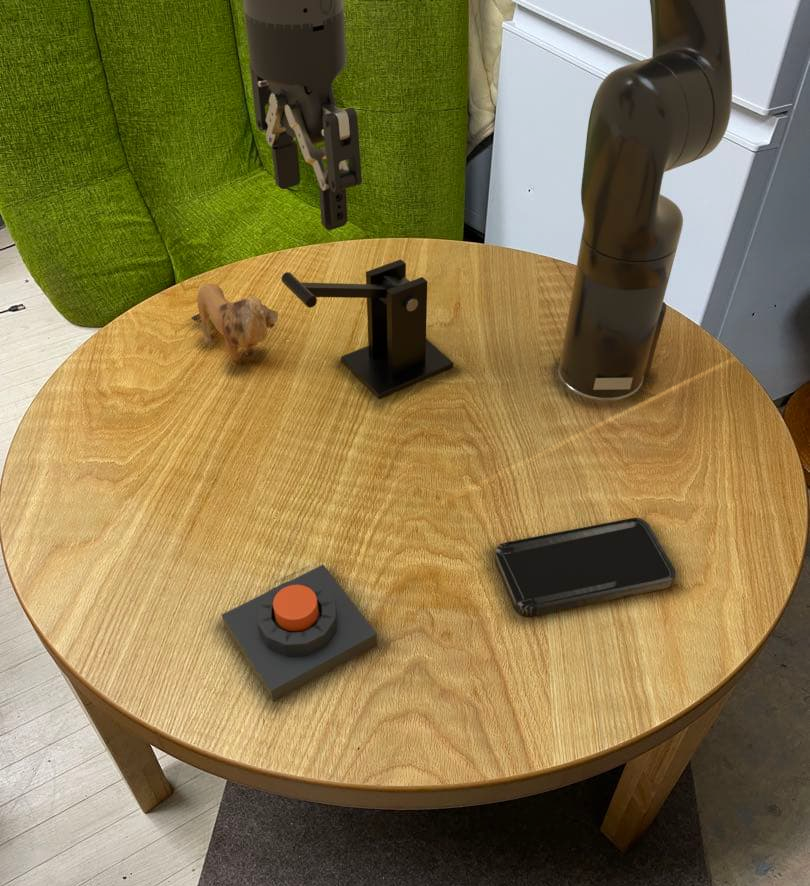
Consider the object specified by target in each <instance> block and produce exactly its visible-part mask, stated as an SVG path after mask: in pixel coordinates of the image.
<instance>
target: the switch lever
mask: <svg viewBox="0 0 810 886" xmlns="http://www.w3.org/2000/svg"><path fill="white" fill-rule="evenodd" d="M280 278H281V282H282V284H283V285H285V287H286V288H287V289H289V290H290V291H291V292H292V293H293V294H294V295H295V296H296V297H297V298H298V299H299V300H300V302H302V303H303V305H305V307H307V308H309V309H311V308H314V307H315V306H316V305H317V304H318V303H317V302H318V299H317V298H342V299H343V298H347V299H348V298H349V299H350V298H351V299H352V298H353V299H356V298H357V299H367V298H379V299H380V300H381V301H382V302H384V303H385V304H386V305H387V290H388V289H391V288H394V287H397V286H399V285H402V284H405V283H407V282H410V281H411V280H409V279H408V278H407V276H406V277H404V276H383V280H382V283H381V285H379V284H366V283H341V282H339V283H335V282H301V281H299V279H298V278H297V277H295V275H294V274H292V273H291V272H290V271H289V272H288V271H286V272H284V273H282V275H281V277H280Z"/></svg>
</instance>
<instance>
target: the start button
mask: <svg viewBox="0 0 810 886" xmlns="http://www.w3.org/2000/svg"><path fill="white" fill-rule="evenodd" d="M273 608H274V613H275V618H276V621H277V623H278V624H279V625H280V626H281V627H282V628H283V629H285V630H288V631H293V632H297V631H303V630H306V629H308V628H309V627H311V626H312V625H313V624H314V623H315V622H316V620H317V618H318V614H319V611H318V603H317V597H316V594H315V593H314V592H313V591H312V590H311V589H310V588H308V587H306V586H303V585H290V586H287V587H285V588H283V589H281V590H280V591H279V592H278V593H277V594H276V596H275V598H274V600H273Z"/></svg>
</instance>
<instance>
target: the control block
mask: <svg viewBox="0 0 810 886" xmlns="http://www.w3.org/2000/svg"><path fill="white" fill-rule="evenodd" d="M336 580H337V579H336V578H334V577H333V575H332V574H331V573H330V571H329V570H328V569H327V568H326V566H325V565H324V564H321V565H319V566H317V567H315V568H313V569H311V570H309V571H307V572H305V573H303V574H301V575H299V576H297V577H295V578H293V579H290V580H288V581H285V582H283V583H281V584H279V585H277V586H275V587H273V588H271V589H269V590H268V591H266V592H264V593H263V594H260V595H258V596H256V597H254V598H252V599H251V600H248V601H247V602H244V603H242V604H241V605H238V606H236V607H234V608H232V609H230V610H228V611H225V612H224V613H222V614H221V618H222V622H223V625H224V628H225V629H226V631H227V633H229V635H230V637H231V638H232V640H233V642H234V644H235V645H236V646H237V648H238V650H239V651H240V653H241V654H242V655H243V657H244V658H245V660H246V662H247V664H248V665H249V667H250V668H251V670H252V671H253V672H254V674H255V676H256V678H257V679H258V680H259V683H261V686H262V687H263V688H264V690H265V691H266V693H267V695H268V696H269V697H270V699H271V700H272V702H273V703H274V702H276V701H278V700H279V699H281V698H283V697H285V696H286V695H287V696H288V694H290V693H292V692H294V691H296V690H298V689H299V688H302V687H303V686H305V685H306V684H309V683H311V682H313V681H314V680H316V679H318V678H320V677H321V676H324V675H325V674H327V673H329V672H331V671H333V670H334V669H336V668H338V667H339V666H342V665H344V664H345V663H348V661H351V660H353V659H354V658H356V657H359V656H360V655H362V654H364V653H366V652H367V651H369V650H370V649H372V648H374V647H377V646H378V633H377V632H376V631H375V630H374V628H373V627H372V625H371V624H370V623H369V621H368V620H367V619H366V617H364V615H363V614H362V613H361V612H360V610H359V608H358V607H357V606H356V605H355V604H354V602H353V601H352V600H351V598H350V597H349V596H348V594H346V592H345V591H344V589H343V588H342V587H341V585H340V584H339V583H338V581H336ZM290 585H303V586H306V587H308V588H310V589H311V590H312V591H313V592H314V593H315V594H316V597H317V603H318V611H319V614H318V618H317V620H316V622H315V623H314V624H313V625H312V626H311V627H309V628H308V629H306V630H303V631H297V632H293V631H288V630H285V629H283V628H282V627H281V626H280V625H279V624H278V623H277V621H276V618H275V613H274V608H273V600H274V598H275V596H276V594H277V593H278V592H279V591H280V590H281V589H283V588H285V587H287V586H290Z"/></svg>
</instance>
